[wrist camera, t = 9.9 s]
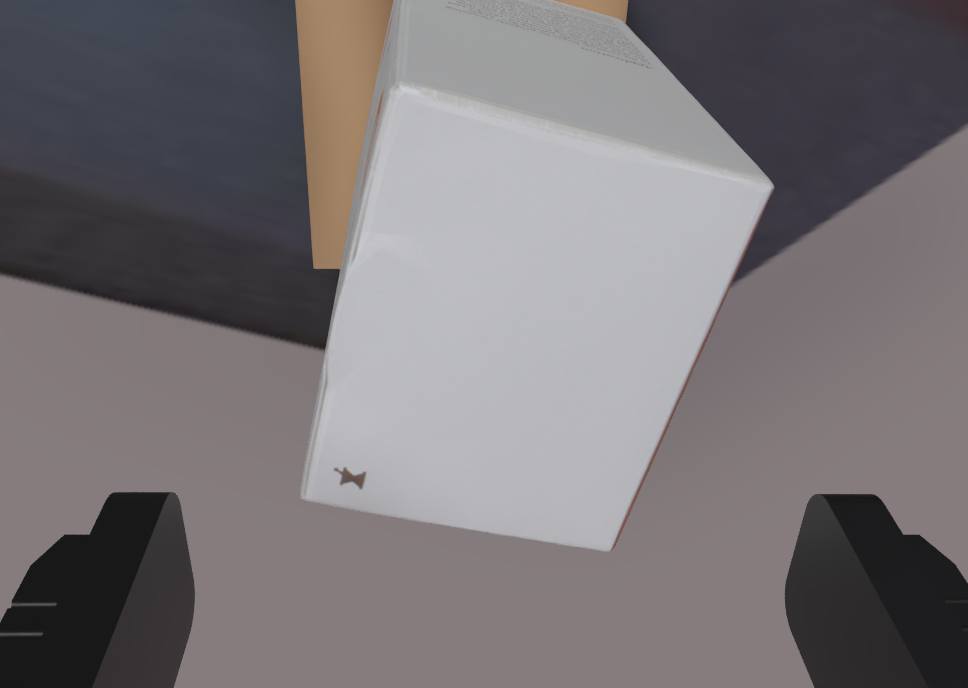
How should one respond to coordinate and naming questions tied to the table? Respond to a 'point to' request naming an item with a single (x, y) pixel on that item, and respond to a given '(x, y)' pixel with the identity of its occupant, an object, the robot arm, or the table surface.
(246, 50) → the table surface
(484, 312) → the small box
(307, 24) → the base brick
